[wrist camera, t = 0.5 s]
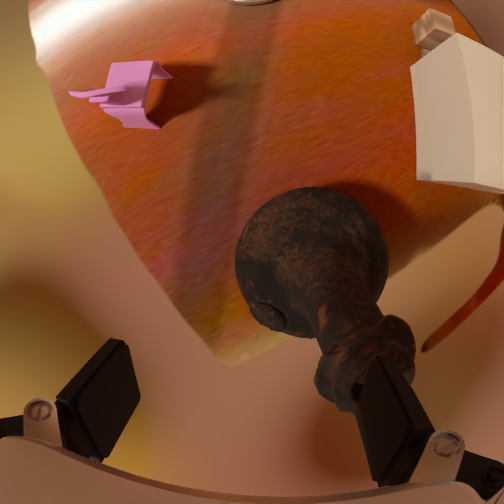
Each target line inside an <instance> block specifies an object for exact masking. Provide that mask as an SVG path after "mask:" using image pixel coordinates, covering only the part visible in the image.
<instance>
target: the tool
mask: <svg viewBox="0 0 504 504" xmlns="http://www.w3.org/2000/svg"><path fill="white" fill-rule="evenodd" d="M412 28H413V33H414V37H415V42H416V45H418V46H422V47H425V48H428V49H431V50H433V49H435V48H436V47H437V46H439V45H440V44H441V43H443V42H444V41H445V40H447V39H448V38H450V37H451V36H452V35H454V34H455V33H456V32H455V29H454V25H453V22H452V19H451V17H450V16H448V15H445V14H443V13H441V12H438V11H436V10H433V9H430V8H429V9H428V10H427V11H426V12H425V13H424V14H423V15H422V16H421V18H420V19H419V20H418V21H417V22H416V23H415V24H414V25H413V26H412ZM429 52H431V51H429V50H426V49H423V50H421V54H422V58H423V57H424V56H425V55H427V54H428V53H429Z"/></svg>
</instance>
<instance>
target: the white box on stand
mask: <svg viewBox="0 0 504 504" xmlns="http://www.w3.org/2000/svg"><path fill="white" fill-rule="evenodd" d="M410 71H411V78H412V87H413V96H414V107H415V121H416V145H417V177H416V180H421V181H427V182H434V183H440V184H446V185H452V186H458V187H463V188H469V189H474V190H479V191H485V192H493V193H500V194H504V57H503V56H501V55H499V54H498V53H496V52H494V51H492V50H490V49H489V48H487V47H485V46H483V45H481V44H479V43H477V42H475V41H473V40H471V39H469V38H467V37H465V36H463V35H461V34H458V33H455V34H454V35H452V36H451V37H450V38H448V39H447V40H445V41H444V42H443V43H441V44H440V45H439V46H437V47H436V48H435V49H433V50H432V51H431V52H429V53H428V54H427V55H425V56H424V57H423V58H421V59H420V60H419V61H418V62H416V63H415V64H414V65H412V66H411V67H410Z"/></svg>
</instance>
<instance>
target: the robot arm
mask: <svg viewBox="0 0 504 504" xmlns="http://www.w3.org/2000/svg"><path fill="white" fill-rule="evenodd" d="M226 1H228V2H231V3H235V4H241V5H257V4H264V3H268V2H271V1H274V0H226ZM56 399H57V400H56V402H55V403H53V401H52V400H50V399H47V398H37V399H34V400H32V401H30V402H29V403H28V404H27V405H26V406H25V408H24V412H23V415H19V416H14V417H8V418H1V419H0V504H504V464H503V463H500V462H499V461H496V460H493V459H489V458H486V457H483V456H480V455H477V454H474V453H471V452H468V451H466V450H465V443H464V440H463V438H462V437H461V436H460V435H459V434H458V433H456V432H454V431H452V430H447V429H445V430H439V431H435V429H434V428H433V426H432V424H431V422H430V420H429V418H428V416H427V414H426V412H425V411H424V409H423V407H422V405H421V403H420V401H419V400H418V398H417V396H416V394H415V392H414V391H413V389H412V388H411V386H409V384H408V382H407V381H406V379H405V377H404V375H403V374H402V372H401V370H400V368H399V367H398V365H397V363H396V362H395V360H394V358H393V357H392V355H380V356H376V358H375V360H371V362H370V366H369V369H368V372H367V376H366V379H365V382H364V386H363V389H362V392H361V395H360V398H359V401H358V404H357V407H356V411H355V416H356V420H357V423H358V427H359V430H360V434H361V438H362V441H363V445H364V449H365V452H366V456H367V460H368V464H369V468H370V472H371V476H372V479H373V481H377V483H378V487H383V488H377V489H372V490H365V491H358V492H350V493H341V494H331V495H319V496H300V497H273V496H272V497H271V496H250V495H237V494H227V493H219V492H212V491H205V490H199V489H193V488H187V487H182V486H177V485H172V484H168V483H164V482H159V481H156V480H152V479H148V478H145V477H141V476H137V475H134V474H131V473H127V472H125V471H122V470H118V469H116V468H113V467H110V466H107V465H104V464H102V461H103V460H104V458H107V457H109V455H110V453H111V451H112V450H113V448H114V446H115V444H116V442H117V441H118V439H119V437H120V435H121V433H122V431H123V430H124V428H125V426H126V424H127V423H128V421H129V419H130V417H131V416H132V414H133V412H134V410H135V408H136V407H137V405H138V403H139V401H140V391H139V387H138V383H137V380H136V376H135V372H134V368H133V363H132V359H131V355H130V350H129V347H128V345H126V344H125V342H124V341H123V340H118V339H113V338H110V339H109V340H108V341H107V342H106V343H105V344H104V345H103V346H102V347H101V348H100V349H99V350H98V351H97V352H96V353H95V354H94V355H93V357H92V358H91V359H90V360H89V361H88V362H87V363H86V364H85V365H84V366H83V368H82V369H81V370H80V371H79V372H78V373H77V374H76V375H75V376H74V377H73V378H72V379H71V380H70V382H69V383H68V384H67V385H66V386H65V387H64V388H63V390H62V391H61V392H60V393H59V394H58V395H57V396H56ZM89 458H90V459H89ZM91 459H92V460H91ZM96 461H97V462H96ZM384 486H389V487H384Z"/></svg>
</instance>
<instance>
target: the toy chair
mask: <svg viewBox="0 0 504 504" xmlns="http://www.w3.org/2000/svg"><path fill="white" fill-rule="evenodd" d="M172 78H173V77H172V76H171V75H170V74H169V73H167V72H166V71H165V70H164V69H163V68H162V67H161V66H160V64H159V62H155V61H154V60H152V61H136V62H119V63H112V64H111V67H110V71H109V74H108V78H107V82H106V86H105V88H103V89H87V90H82V91H69V93H70V95H72V96H75V97H79V98H87V97H90V100H89V102H94V103H100V107H101V108H103V110H104V112H105V113H107V114H109V115H111V116H114V117H116V118H118V119H119V120H120V121H121V122H122V124H123V127H130V128H148V129H160V128H161V127H160V126H158V125H156V124H155V123H153V122H151V121H150V120H149V119H148V118H147V117H146V110H145V103H146V98H147V93H148V89H149V85H150V81H151V79H172Z"/></svg>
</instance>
